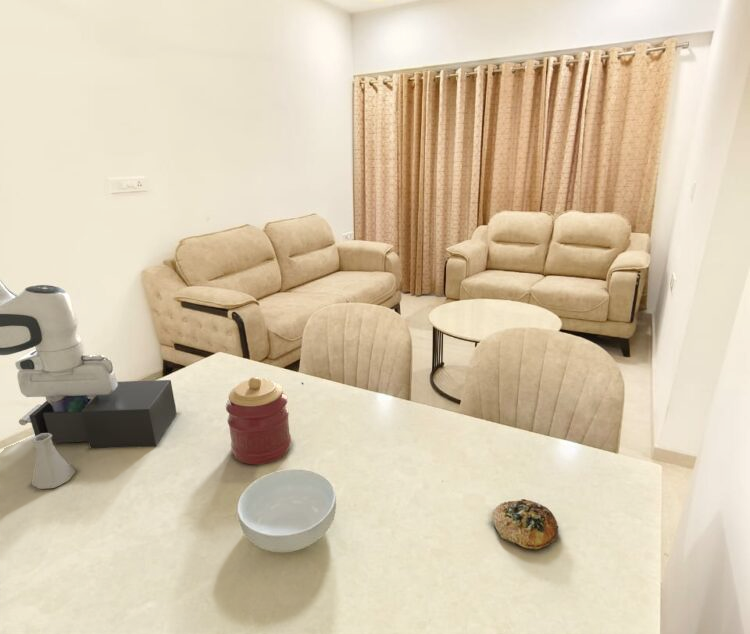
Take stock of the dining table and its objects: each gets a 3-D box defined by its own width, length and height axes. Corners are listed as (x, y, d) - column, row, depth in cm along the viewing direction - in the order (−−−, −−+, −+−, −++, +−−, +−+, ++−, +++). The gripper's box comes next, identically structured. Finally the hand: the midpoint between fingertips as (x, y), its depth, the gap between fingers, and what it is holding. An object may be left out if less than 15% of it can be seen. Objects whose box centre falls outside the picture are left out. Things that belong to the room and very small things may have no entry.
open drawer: (15, 446, 112) (5, 416, 109) (48, 416, 124) (40, 388, 122) (99, 443, 113) (92, 413, 110) (124, 413, 125) (118, 385, 122)
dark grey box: (90, 448, 112) (80, 411, 109) (118, 416, 126) (110, 381, 122) (156, 446, 113) (148, 409, 110) (176, 413, 127) (170, 379, 123)
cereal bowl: (237, 510, 93) (232, 479, 90) (324, 491, 98) (322, 460, 95) (246, 581, 78) (241, 545, 75) (349, 553, 83) (347, 519, 80)
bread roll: (557, 511, 91) (559, 491, 89) (557, 563, 82) (559, 542, 79) (494, 501, 94) (495, 482, 92) (488, 550, 85) (488, 529, 83)
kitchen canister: (275, 427, 120) (268, 360, 114) (302, 451, 110) (296, 379, 104) (222, 446, 113) (212, 375, 106) (247, 474, 103) (237, 398, 97)
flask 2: (24, 487, 100) (10, 444, 96) (54, 466, 106) (42, 425, 103) (54, 492, 98) (41, 449, 95) (82, 470, 105) (71, 429, 101)
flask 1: (66, 436, 114) (55, 394, 110) (55, 435, 114) (43, 393, 110) (95, 416, 122) (85, 376, 118) (85, 415, 123) (74, 375, 119)
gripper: (115, 349, 115) (127, 402, 120) (24, 352, 114) (39, 405, 119) (103, 360, 109) (115, 416, 114) (7, 363, 108) (23, 419, 113)
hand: (76, 410), depth 117 cm, fingers open, 6 cm apart
